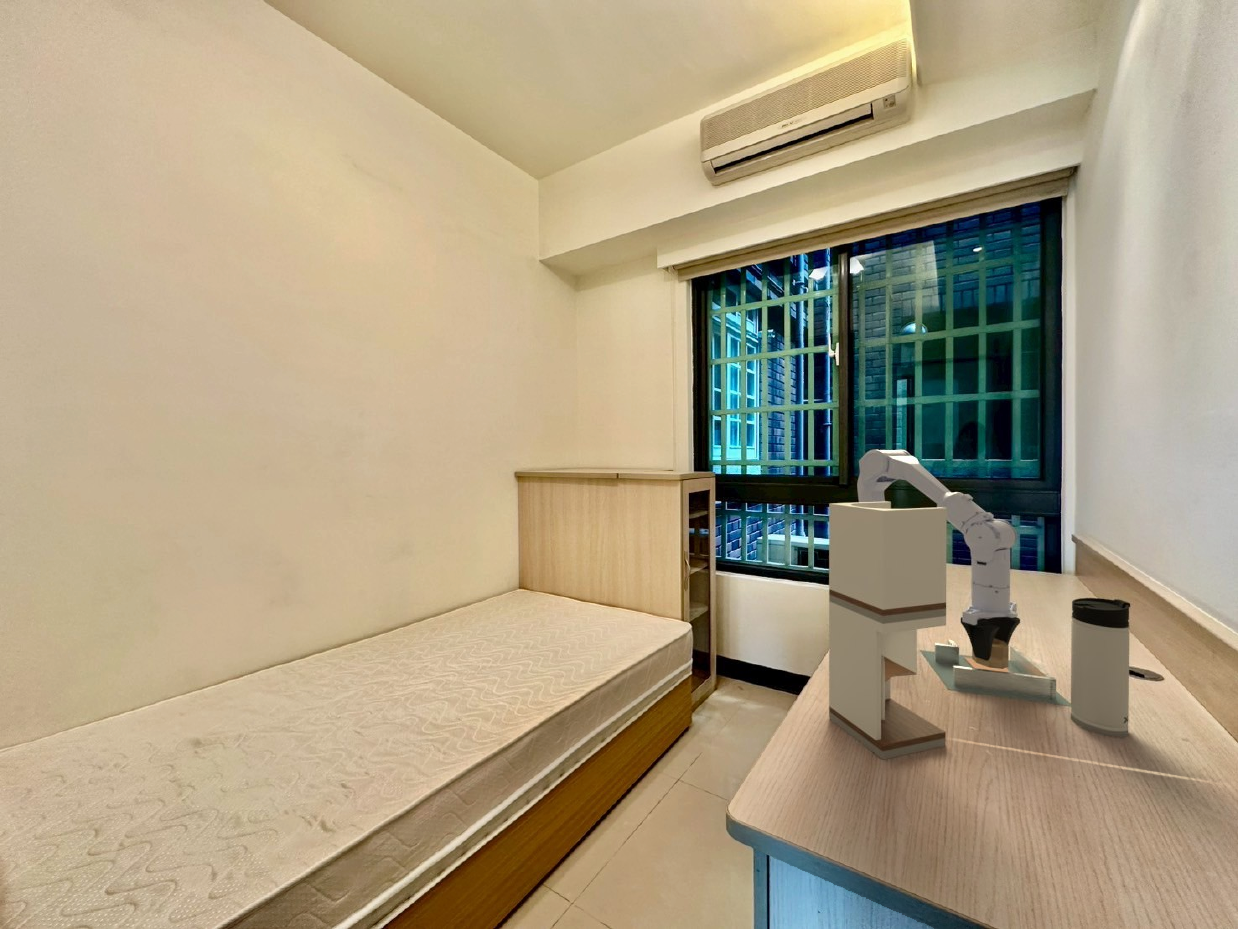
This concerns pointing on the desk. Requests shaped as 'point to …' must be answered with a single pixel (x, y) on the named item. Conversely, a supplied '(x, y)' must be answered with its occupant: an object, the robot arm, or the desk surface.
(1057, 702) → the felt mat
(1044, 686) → the metal walled tray
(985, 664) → the oak ring
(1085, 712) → the travel mug
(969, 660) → the pad
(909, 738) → the cream shelf tower
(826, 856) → the desk surface
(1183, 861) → the desk surface
